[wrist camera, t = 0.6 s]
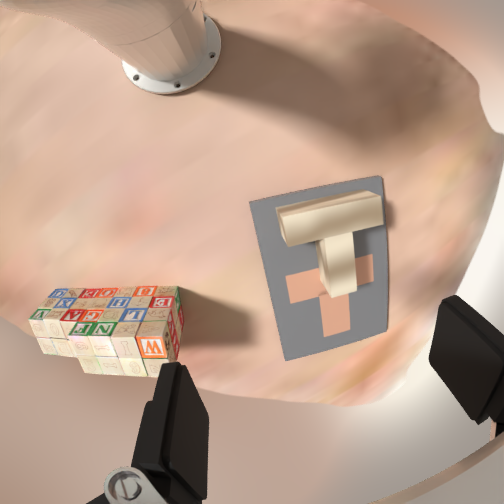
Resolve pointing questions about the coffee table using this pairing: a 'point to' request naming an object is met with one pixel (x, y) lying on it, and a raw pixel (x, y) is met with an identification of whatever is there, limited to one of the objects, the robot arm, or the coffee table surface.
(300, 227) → the T block
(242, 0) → the coffee table surface
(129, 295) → the stack of blocks
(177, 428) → the robot arm
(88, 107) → the coffee table surface
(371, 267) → the board
